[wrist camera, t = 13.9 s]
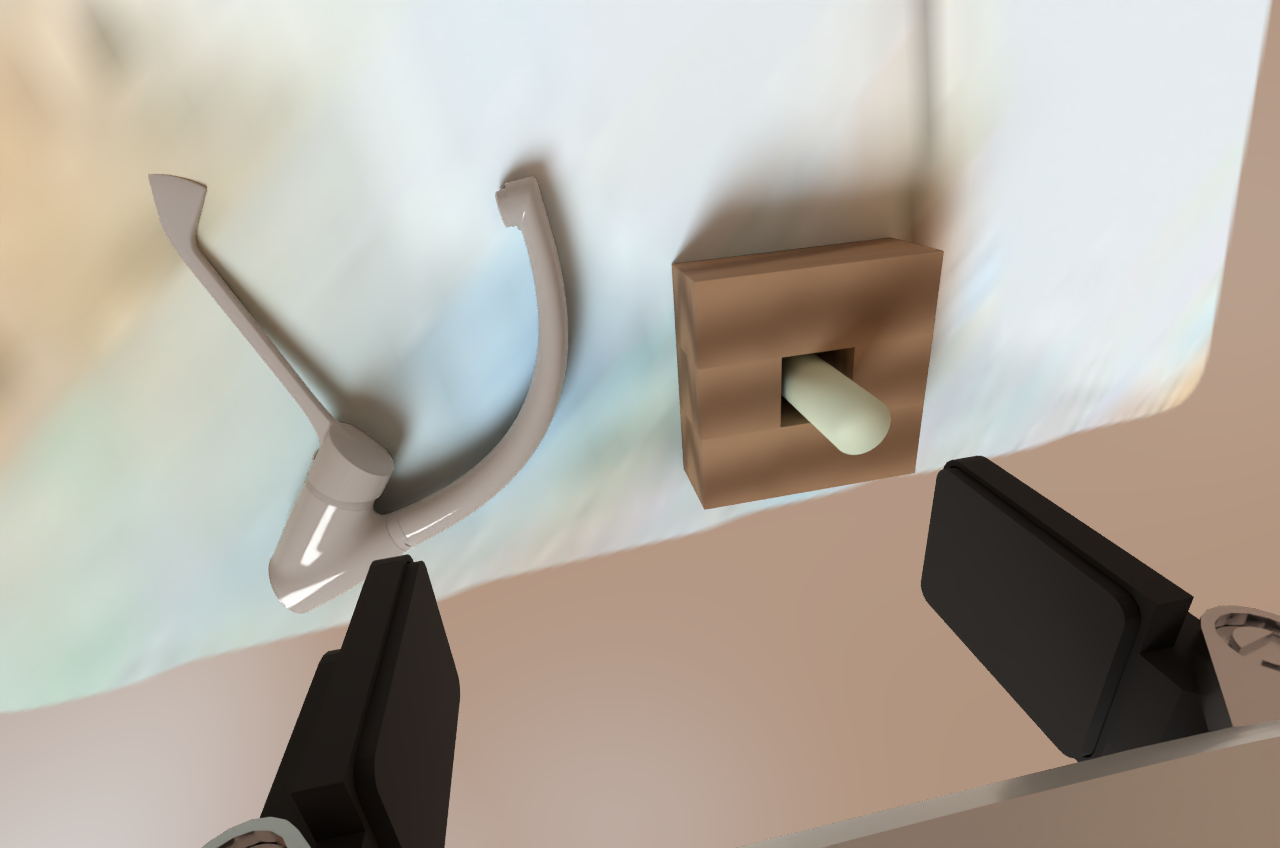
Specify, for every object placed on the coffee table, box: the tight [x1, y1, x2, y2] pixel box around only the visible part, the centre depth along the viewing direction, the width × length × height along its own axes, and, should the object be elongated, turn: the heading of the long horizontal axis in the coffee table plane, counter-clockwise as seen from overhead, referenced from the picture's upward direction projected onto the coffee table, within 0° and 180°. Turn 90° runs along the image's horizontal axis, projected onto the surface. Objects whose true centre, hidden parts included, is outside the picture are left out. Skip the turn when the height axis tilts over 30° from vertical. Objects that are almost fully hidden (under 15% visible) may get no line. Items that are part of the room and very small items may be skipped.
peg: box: [781, 353, 891, 455], centre depth 40 cm, size 4×4×12 cm
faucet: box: [148, 174, 568, 613], centre depth 39 cm, size 5×28×28 cm
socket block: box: [672, 238, 944, 509], centre depth 43 cm, size 16×16×6 cm
